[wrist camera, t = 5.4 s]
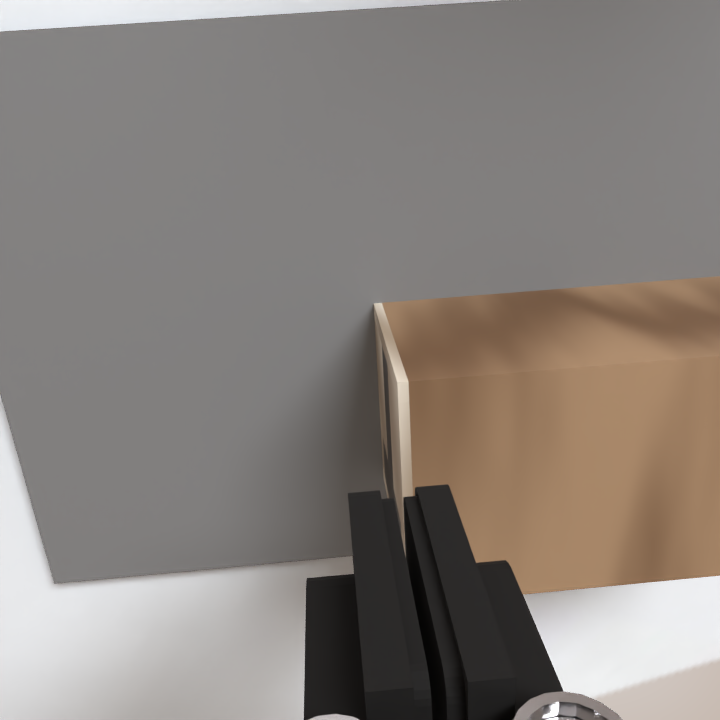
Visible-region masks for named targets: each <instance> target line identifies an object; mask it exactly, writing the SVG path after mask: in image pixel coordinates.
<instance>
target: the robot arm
mask: <svg viewBox="0 0 720 720" xmlns="http://www.w3.org/2000/svg"><path fill="white" fill-rule="evenodd" d="M348 502H349V515H350V528H351V540H352V553H353V565H354V574H349V575H338V576H327V577H316V578H307V583H306V632H305V691H304V720H622V719H621V717H620V716H619V715H618V714H617V713H615V712H614V711H613V710H611V709H609V708H608V707H607V706H605V705H604V704H603V703H601V702H599V701H597V700H594V699H592V698H589V697H587V696H584V695H582V694H576V693H570V692H563V689H562V687H561V684H560V682H559V680H558V677H557V675H556V673H555V670H554V668H553V665H552V663H551V661H550V658H549V656H548V654H547V651H546V649H545V646H544V644H543V642H542V639H541V637H540V635H539V632H538V630H537V627H536V625H535V623H534V620H533V618H532V616H531V613H530V611H529V608H528V606H527V604H526V601H525V599H524V597H523V594H522V592H521V589H520V587H519V585H518V582H517V580H516V578H515V575H514V573H513V570H512V568H511V566H510V565H509V563H508V562H507V561H506V560H501V561H490V562H479V563H476V561H475V558H474V555H473V553H472V550H471V547H470V544H469V541H468V538H467V535H466V533H465V530H464V527H463V524H462V521H461V518H460V515H459V513H458V510H457V507H456V504H455V501H454V498H453V495H452V492H451V490H450V487H449V485H448V484H445V485H433V486H422V487H415V496H408V497H404V498H403V508H404V531H405V552H404V547H403V542H402V536H401V531H400V526H399V521H398V516H397V511H396V506H395V501H394V498H386V499H382V498H381V493H380V490H376V491H365V492H353V493H348ZM405 554H406V557H405Z"/></svg>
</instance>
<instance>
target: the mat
mask: <svg viewBox="0 0 720 720" xmlns="http://www.w3.org/2000/svg"><path fill="white" fill-rule="evenodd" d="M716 276H720V0H505V1H489V2H473V3H457V4H440V5H424V6H408V7H392V8H376V9H360V10H343V11H327V12H311V13H295V14H279V15H262V16H246V17H230V18H214V19H198V20H181V21H165V22H149V23H133V24H117V25H100V26H84V27H68V28H52V29H36V30H19V31H3V32H0V394H1V397H2V401H3V404H4V408H5V411H6V415H7V418H8V422H9V425H10V429H11V432H12V436H13V440H14V443H15V447H16V450H17V454H18V457H19V461H20V464H21V468H22V471H23V475H24V478H25V482H26V485H27V489H28V492H29V496H30V499H31V503H32V506H33V510H34V513H35V517H36V520H37V524H38V527H39V531H40V534H41V538H42V542H43V545H44V549H45V552H46V556H47V559H48V563H49V566H50V570H51V573H52V577H53V580H54V584H55V583H66V582H77V581H87V580H98V579H109V578H119V577H130V576H141V575H152V574H162V573H173V572H184V571H195V570H205V569H216V568H227V567H238V566H248V565H259V564H270V563H281V562H291V561H302V560H313V559H324V558H334V557H345V556H353V553H352V540H351V528H350V515H349V502H348V493H353V492H365V491H376V490H380V493H381V498H382V499H386V498H387V493H386V488H385V483H384V476H383V459H382V441H381V424H380V406H379V388H378V371H377V353H376V335H375V318H374V303H385V302H398V301H411V300H424V299H436V298H449V297H462V296H474V295H487V294H500V293H513V292H525V291H538V290H551V289H564V288H576V287H589V286H602V285H614V284H627V283H640V282H653V281H665V280H678V279H691V278H703V277H716Z"/></svg>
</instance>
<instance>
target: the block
mask: <svg viewBox="0 0 720 720" xmlns="http://www.w3.org/2000/svg"><path fill="white" fill-rule="evenodd" d="M374 318H375V335H376V353H377V371H378V388H379V406H380V424H381V441H382V459H383V476H384V483H385V488H386V493H387V498H394V501H395V506H396V511H397V516H398V521H399V526H400V531H401V536H402V542H403V547H404V552H405V531H404V508H403V498H404V497H408V496H415V487H422V486H433V485H445V484H448V485H449V487H450V490H451V492H452V495H453V498H454V501H455V504H456V507H457V510H458V513H459V515H460V518H461V521H462V524H463V527H464V530H465V533H466V535H467V538H468V541H469V544H470V547H471V550H472V553H473V555H474V558H475V561H476V563H479V562H490V561H501V560H506V561H507V562H508V563H509V565H510V566H511V568H512V570H513V573H514V575H515V578H516V580H517V582H518V585H519V587H520V589H521V592H522V594H532V593H543V592H553V591H564V590H574V589H584V588H595V587H605V586H616V585H626V584H636V583H647V582H657V581H667V580H678V579H688V578H699V577H709V576H719V575H720V276H716V277H703V278H691V279H678V280H665V281H653V282H640V283H627V284H614V285H602V286H589V287H576V288H564V289H551V290H538V291H525V292H513V293H500V294H487V295H474V296H462V297H449V298H436V299H424V300H411V301H398V302H385V303H374ZM405 557H406V554H405Z"/></svg>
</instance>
